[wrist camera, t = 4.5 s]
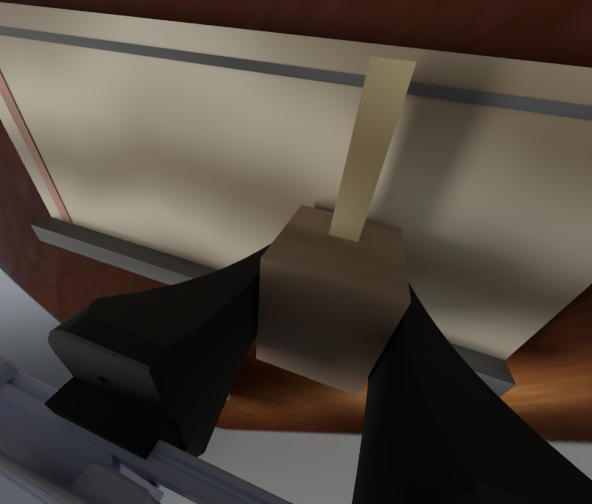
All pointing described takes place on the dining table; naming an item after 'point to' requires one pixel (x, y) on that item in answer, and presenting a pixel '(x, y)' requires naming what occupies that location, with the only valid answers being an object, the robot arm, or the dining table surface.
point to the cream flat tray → (305, 159)
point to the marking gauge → (340, 259)
